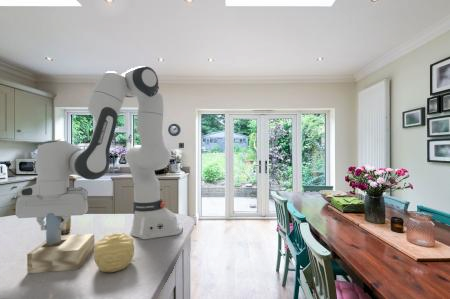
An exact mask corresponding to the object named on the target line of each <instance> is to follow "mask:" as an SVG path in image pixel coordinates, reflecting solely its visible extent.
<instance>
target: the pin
mask: <svg viewBox="0 0 450 299" xmlns="http://www.w3.org/2000/svg"><path fill="white" fill-rule="evenodd" d="M45 223H46V230H45V237H46V238H45V241H46V244H55V243H58V242H60V241H61V236H62V234H61V229H59V224H61V216H54V213H48V214H47V217H45Z"/></svg>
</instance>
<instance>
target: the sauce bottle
mask: <svg viewBox="0 0 450 299" xmlns="http://www.w3.org/2000/svg"><path fill="white" fill-rule="evenodd" d="M71 217H72V216H70V218H69V220H68V221H67V223H66V228H65V229H61V235H66V234H68V233H70V232H71V227H72V220H71V219H72V218H71ZM63 221H64V219H63V216H61V223H63Z"/></svg>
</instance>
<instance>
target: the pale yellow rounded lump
mask: <svg viewBox="0 0 450 299" xmlns="http://www.w3.org/2000/svg"><path fill="white" fill-rule="evenodd" d="M134 241H135V238H134V237H133V236H131V235H130V236H129V235H127V234H126V233H125V232H121V233H119V232H117V233H112V234H106V235H104V237H102V239H100V240H99V241H97V242H94V251H93V252H94V253H93V260H94V262H95V265H96V267H97V268H98V269H99V270H100V271H101V272H103V273H116V272H118V271H119V272H120V271H122V270H124V269H125V268H127V267H128V266H129V265H130V263H131V262H132V261H133V258H134V255H135V244H134Z"/></svg>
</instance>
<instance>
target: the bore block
mask: <svg viewBox="0 0 450 299" xmlns="http://www.w3.org/2000/svg"><path fill="white" fill-rule="evenodd" d="M94 245H95V233H83V234H82V233H80V234H68V235H66V234H63V235H61V241H60V242H58V243H55V244H46V240H45V241H43V242H42V243H40V244H39V245H38V246H36V247H35V248H34V249H31V251H29V252H28V253H27V254H26V255H27V256H26V258H27V259H26V263H27V264H26V267H27V268H26V271H27V272H26V273H27V274H36V273H48V272H59V271H61V272H62V271H68V270H69V271H70V270H79V269H80V268H81V267H82V265H83V264H84V263H85V261H87V259H88V258H89V257H90V256H91V254H92V253H93V252H95V247H94Z"/></svg>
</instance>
